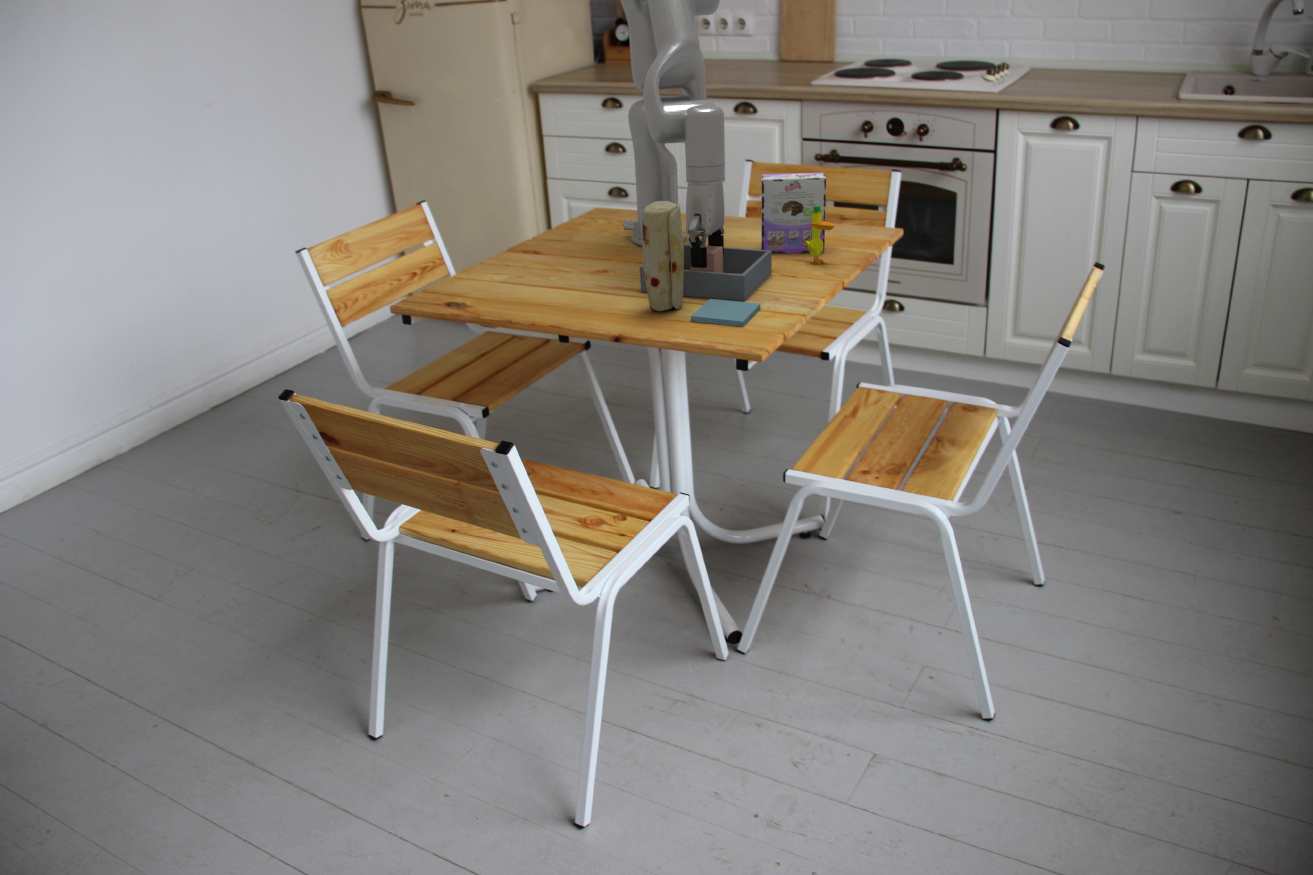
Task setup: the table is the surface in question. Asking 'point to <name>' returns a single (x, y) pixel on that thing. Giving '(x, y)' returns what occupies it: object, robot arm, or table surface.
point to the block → (713, 260)
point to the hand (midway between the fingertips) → (707, 260)
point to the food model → (663, 255)
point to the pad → (725, 312)
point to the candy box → (790, 210)
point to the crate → (725, 275)
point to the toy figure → (817, 234)
